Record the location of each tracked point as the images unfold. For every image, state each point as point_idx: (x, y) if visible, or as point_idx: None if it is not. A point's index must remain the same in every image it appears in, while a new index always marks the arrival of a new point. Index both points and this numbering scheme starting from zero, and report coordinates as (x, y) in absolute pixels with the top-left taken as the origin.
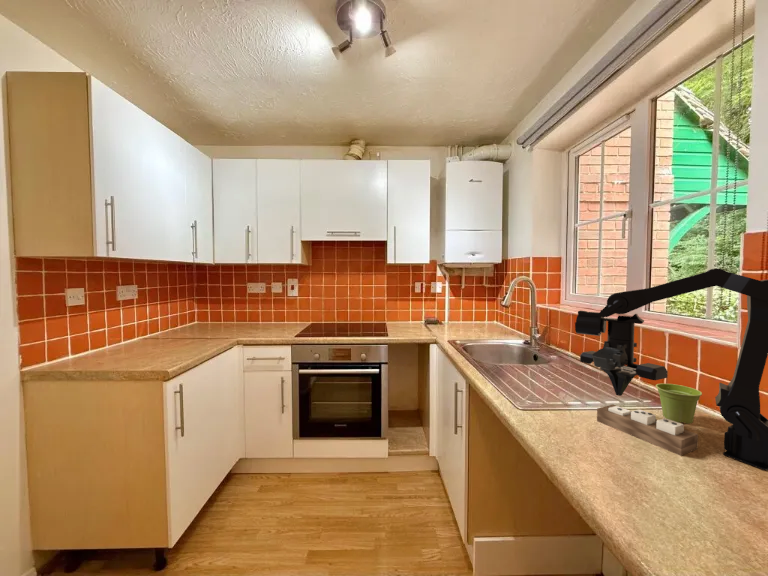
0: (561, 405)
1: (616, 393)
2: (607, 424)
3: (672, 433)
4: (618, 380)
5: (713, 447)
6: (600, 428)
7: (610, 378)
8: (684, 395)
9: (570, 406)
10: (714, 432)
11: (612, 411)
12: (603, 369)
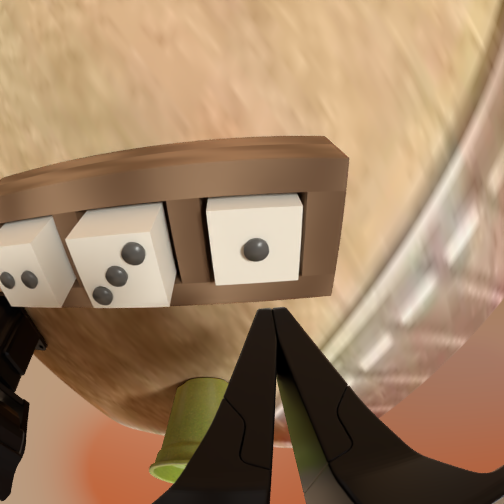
0: (484, 160)
1: (282, 314)
2: (267, 137)
3: (4, 229)
4: (267, 442)
5: (51, 315)
6: (257, 64)
7: (370, 423)
8: (160, 463)
9: (461, 185)
10: (127, 387)
11: (272, 200)
12: (491, 493)
